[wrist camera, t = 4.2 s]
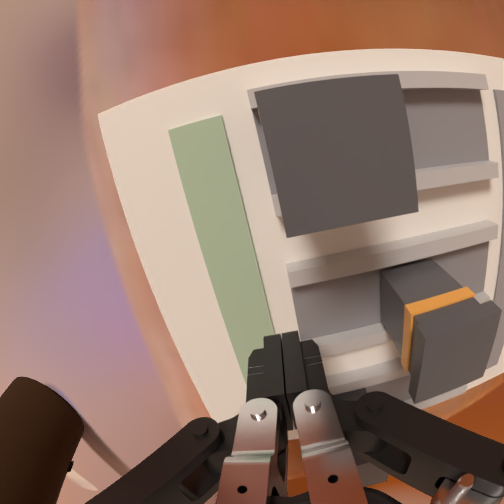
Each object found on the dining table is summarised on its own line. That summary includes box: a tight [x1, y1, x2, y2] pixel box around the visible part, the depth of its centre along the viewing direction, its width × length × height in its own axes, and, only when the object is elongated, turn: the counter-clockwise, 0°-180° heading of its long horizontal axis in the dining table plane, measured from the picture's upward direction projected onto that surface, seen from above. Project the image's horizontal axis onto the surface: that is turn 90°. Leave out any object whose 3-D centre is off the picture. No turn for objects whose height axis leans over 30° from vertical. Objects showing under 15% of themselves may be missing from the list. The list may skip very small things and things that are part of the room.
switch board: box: [98, 49, 504, 487], centre depth 13 cm, size 26×24×8 cm
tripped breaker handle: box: [380, 259, 502, 404], centre depth 12 cm, size 4×4×6 cm
